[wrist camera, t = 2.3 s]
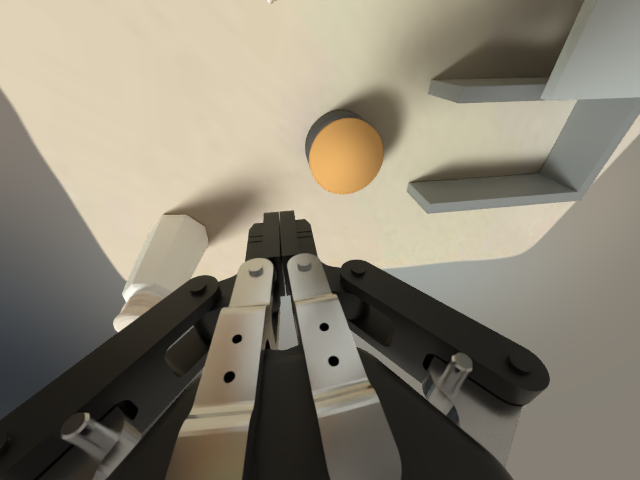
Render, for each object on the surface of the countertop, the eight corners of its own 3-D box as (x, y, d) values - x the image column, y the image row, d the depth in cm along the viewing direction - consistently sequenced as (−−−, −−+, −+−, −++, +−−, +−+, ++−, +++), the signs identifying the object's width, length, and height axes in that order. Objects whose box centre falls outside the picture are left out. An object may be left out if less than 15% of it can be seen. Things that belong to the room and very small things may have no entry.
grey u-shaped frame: (431, 77, 21) (469, 84, 17) (604, 73, 23) (674, 78, 19) (406, 191, 27) (429, 216, 23) (544, 181, 29) (587, 202, 25)
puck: (303, 111, 21) (308, 121, 18) (374, 108, 22) (389, 117, 19) (306, 179, 25) (310, 196, 22) (366, 175, 25) (378, 191, 23)
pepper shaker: (188, 204, 24) (142, 292, 16) (220, 245, 28) (196, 337, 19) (137, 223, 25) (65, 320, 16) (174, 261, 28) (131, 359, 19)
